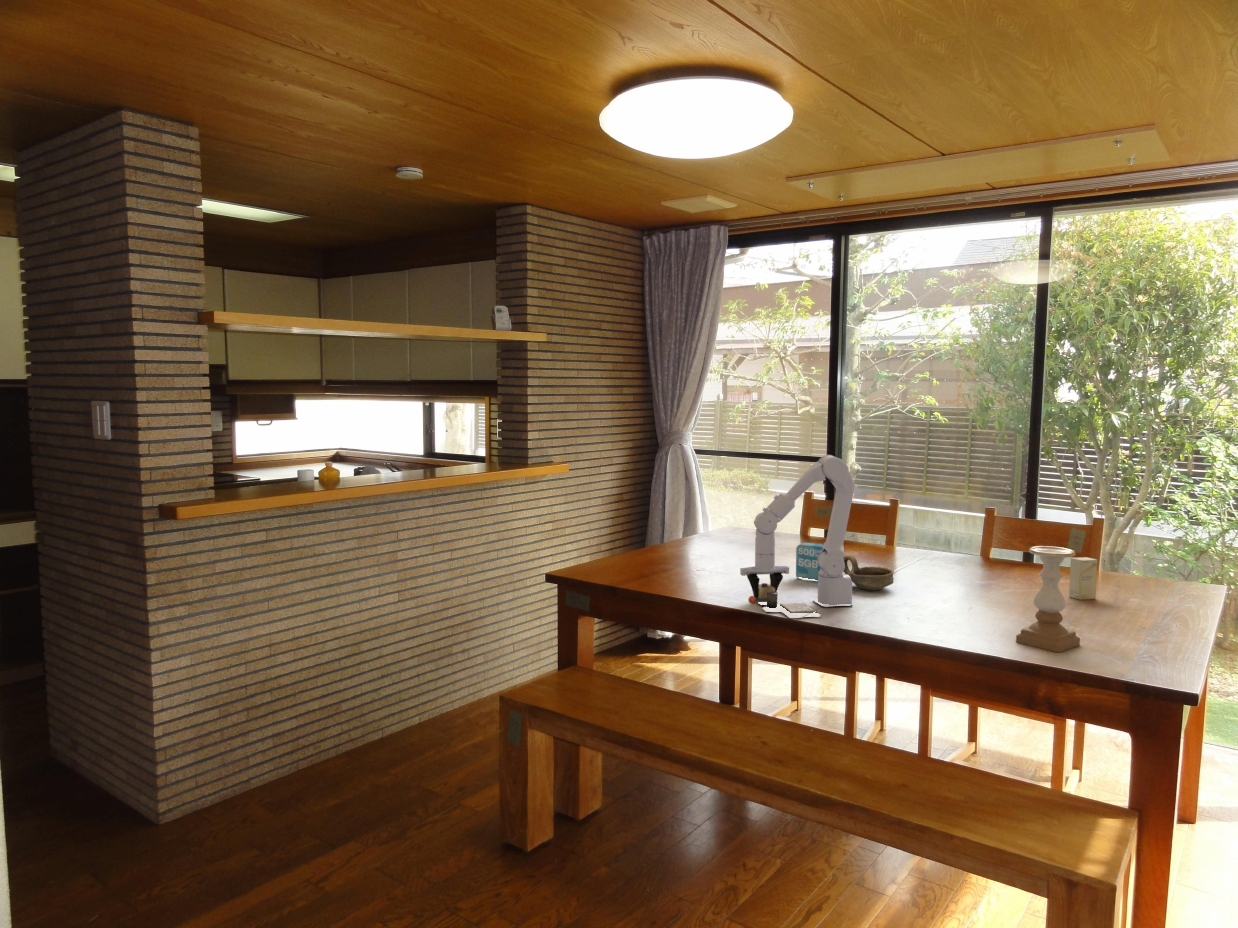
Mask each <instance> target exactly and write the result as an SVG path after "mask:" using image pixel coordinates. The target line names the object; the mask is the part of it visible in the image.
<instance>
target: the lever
mask: <svg viewBox="0 0 1238 928" xmlns="http://www.w3.org/2000/svg"><path fill="white" fill-rule="evenodd" d="M747 600H748V603H749V604H750V605H751V604H752V605H753V604H756V602H765V601H767V605H766V606H767V607H769V608H776V607H777V604H778V591H777V592H767V597H757V598H755V597H754V595H751V596H749V597H748V599H747Z"/></svg>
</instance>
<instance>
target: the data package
mask: <svg viewBox="0 0 1238 928" xmlns="http://www.w3.org/2000/svg"><path fill="white" fill-rule="evenodd" d="M823 545H824V544H822V543H813V542H802V543H801V544H797V546H796V548H795V549H796V551H795V576H796V578H797V577H802V578H808V579H815V580H818V572H819V571H820V569H821V567H820V566H819V565H818V562H817V558H818V555H819V554H820V552H821V551H822V549H823Z"/></svg>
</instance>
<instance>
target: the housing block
mask: <svg viewBox="0 0 1238 928" xmlns="http://www.w3.org/2000/svg"><path fill="white" fill-rule="evenodd" d="M767 592H775V588H774V587H773V586H771V584H770V583H766V582H765V583H764V582H763V583H759V587H758V597H767ZM765 602H767V601H765Z"/></svg>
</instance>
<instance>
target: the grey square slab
mask: <svg viewBox="0 0 1238 928" xmlns="http://www.w3.org/2000/svg"><path fill="white" fill-rule="evenodd" d="M780 606H782V607H783V608H785V609H786V610H787V611H789V612H790V613H813V612H815V611H816V612H815V613H819V614H821V613H820V612H818V611H817V610H816V609H814V608H812V607H811V606H809V605H808V604H806V603H804V602H795V603H780Z"/></svg>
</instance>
